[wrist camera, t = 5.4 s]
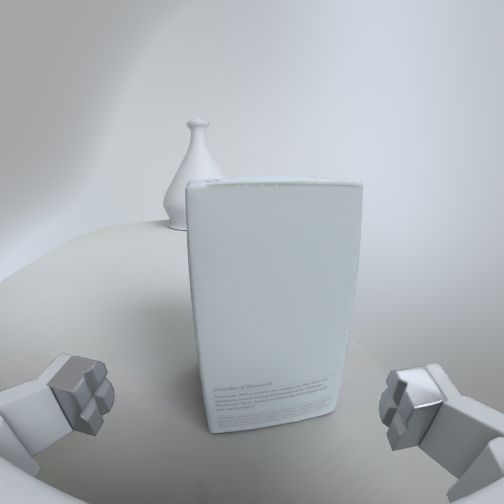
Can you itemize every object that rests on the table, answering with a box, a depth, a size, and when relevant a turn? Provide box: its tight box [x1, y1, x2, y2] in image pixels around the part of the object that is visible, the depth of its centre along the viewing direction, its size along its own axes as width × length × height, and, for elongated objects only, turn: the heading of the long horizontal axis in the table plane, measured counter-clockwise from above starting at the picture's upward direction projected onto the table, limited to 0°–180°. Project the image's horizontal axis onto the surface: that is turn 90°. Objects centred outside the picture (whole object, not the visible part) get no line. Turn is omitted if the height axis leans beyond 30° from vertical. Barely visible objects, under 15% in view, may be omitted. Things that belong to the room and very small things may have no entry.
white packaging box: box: [185, 176, 363, 433], centre depth 16 cm, size 7×7×13 cm
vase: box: [163, 119, 225, 230], centre depth 67 cm, size 17×17×25 cm
